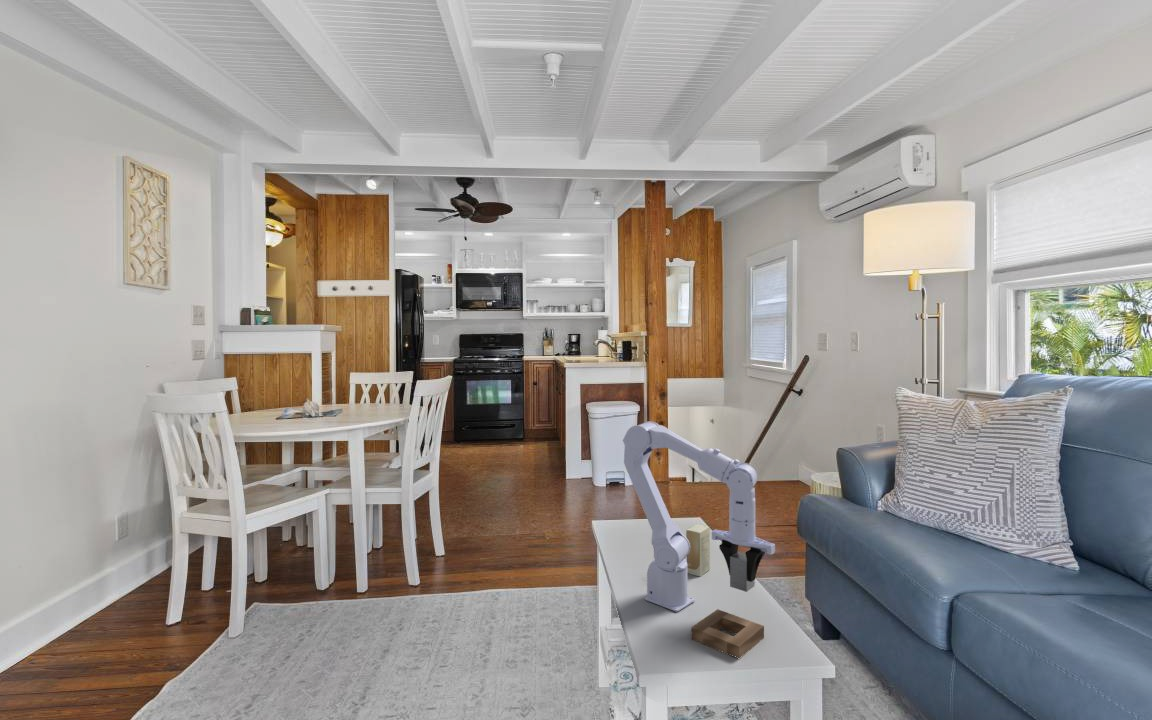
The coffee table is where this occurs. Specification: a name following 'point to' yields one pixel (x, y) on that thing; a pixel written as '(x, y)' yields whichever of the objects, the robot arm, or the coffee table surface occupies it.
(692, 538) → the skincare box
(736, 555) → the peg
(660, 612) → the coffee table surface
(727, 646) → the socket block
